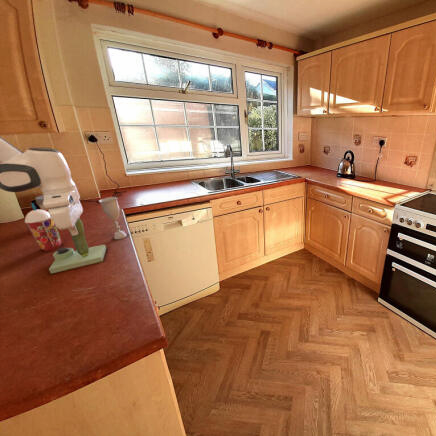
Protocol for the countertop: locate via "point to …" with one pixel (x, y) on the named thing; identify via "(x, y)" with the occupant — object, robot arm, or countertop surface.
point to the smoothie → (43, 229)
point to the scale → (76, 258)
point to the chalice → (112, 213)
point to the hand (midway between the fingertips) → (77, 231)
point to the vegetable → (80, 239)
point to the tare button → (62, 250)
